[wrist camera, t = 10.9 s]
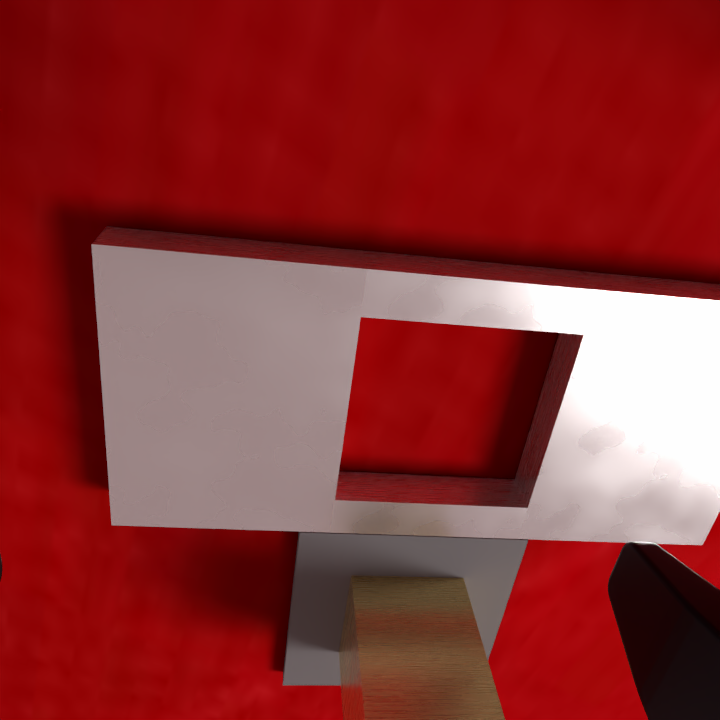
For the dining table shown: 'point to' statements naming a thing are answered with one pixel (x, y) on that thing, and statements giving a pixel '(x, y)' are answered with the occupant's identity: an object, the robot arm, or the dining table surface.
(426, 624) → the brass block
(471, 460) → the dining table surface
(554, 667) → the dining table surface
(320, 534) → the pad
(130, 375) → the rail
